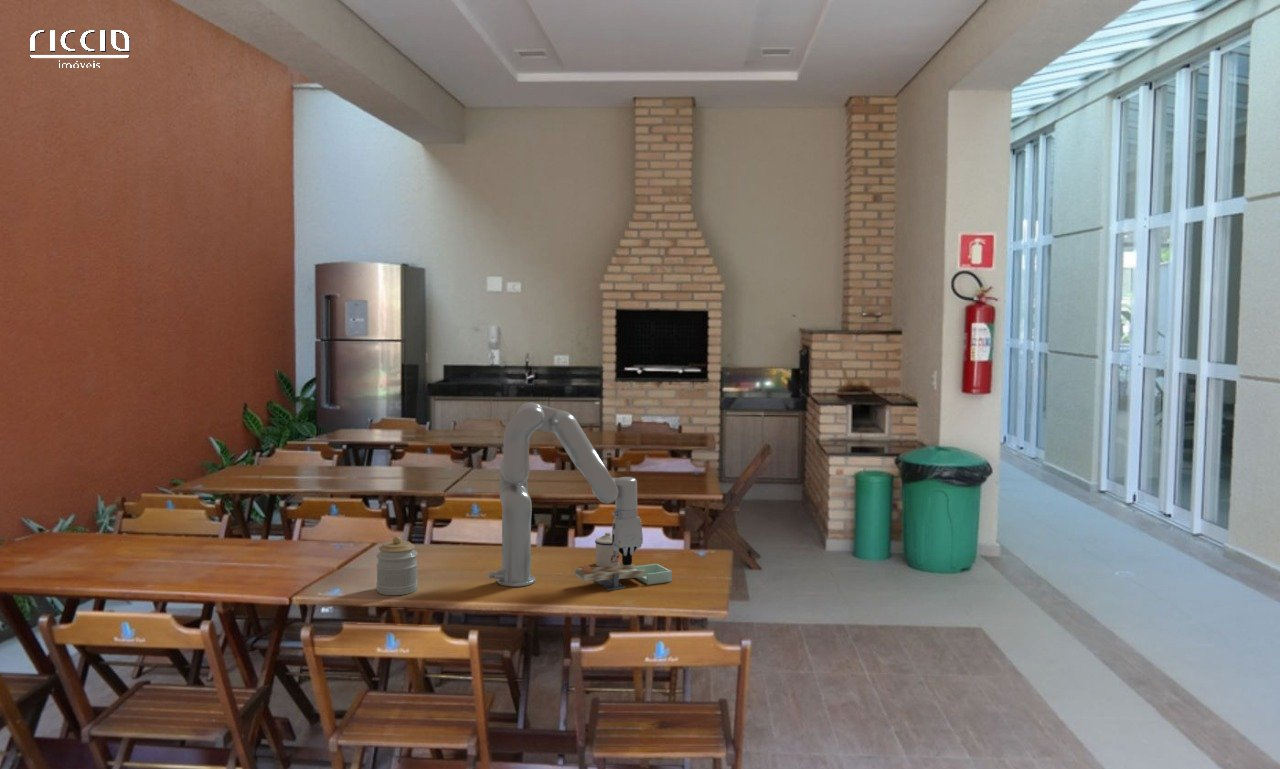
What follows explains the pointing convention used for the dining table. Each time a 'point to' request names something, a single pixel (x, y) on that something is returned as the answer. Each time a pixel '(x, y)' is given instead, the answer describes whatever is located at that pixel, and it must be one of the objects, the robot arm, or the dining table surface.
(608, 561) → the teacup with lid
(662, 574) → the tray
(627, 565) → the lever
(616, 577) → the fulcrum
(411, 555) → the jar
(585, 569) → the ball
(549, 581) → the dining table surface
